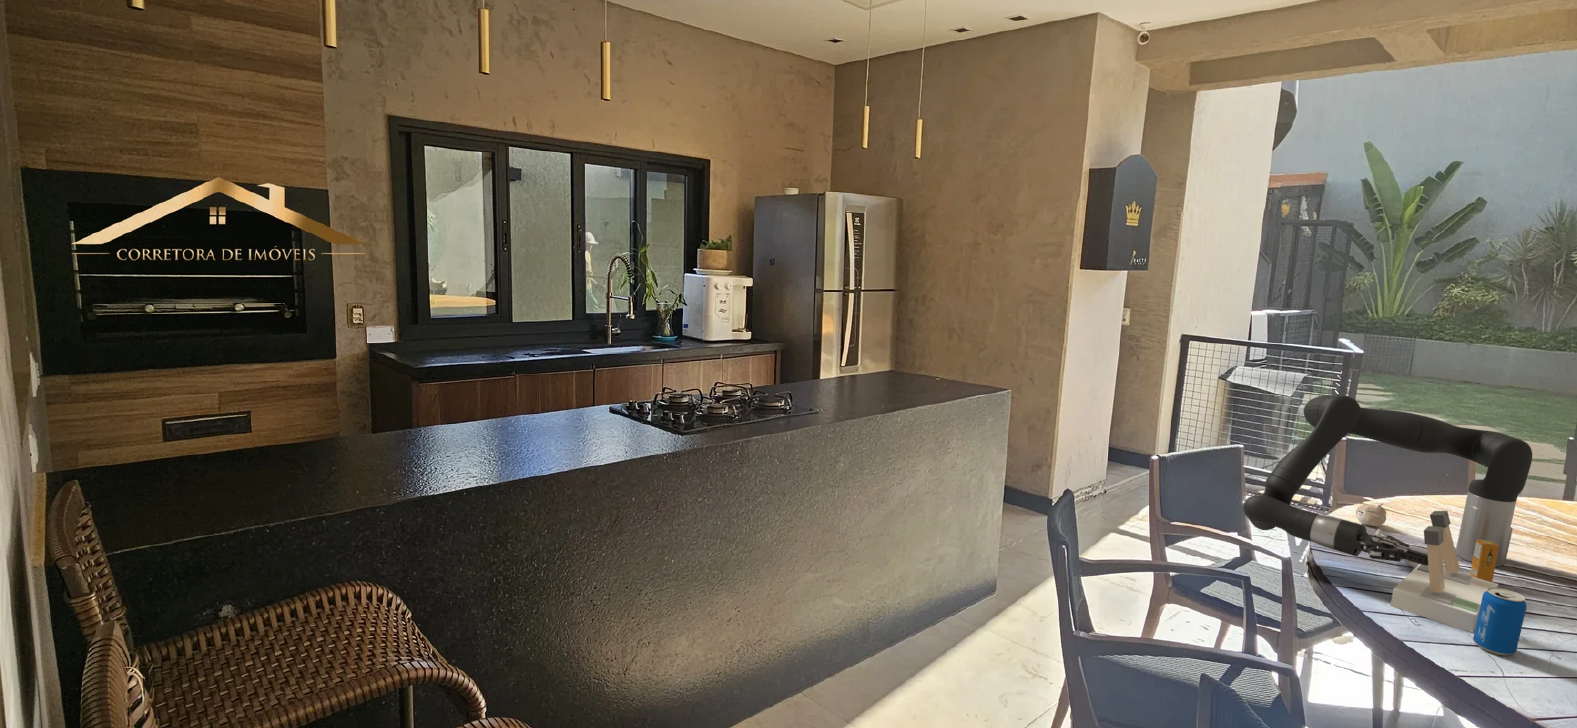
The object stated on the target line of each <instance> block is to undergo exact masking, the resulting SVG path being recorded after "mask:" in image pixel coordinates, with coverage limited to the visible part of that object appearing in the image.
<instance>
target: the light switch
mask: <svg viewBox="0 0 1577 728" xmlns="http://www.w3.org/2000/svg"><path fill="white" fill-rule="evenodd" d="M1374 535H1380V536H1383V537H1384V538H1386V536H1390V535H1389V534H1388V533H1386V532H1384V530H1382V529H1380V528H1378V529H1377V530H1376V531H1375V534H1374ZM1404 562H1405V563H1406V564H1408V565H1409V566H1411V567H1412V568H1413V569H1415V568H1416V567H1417V566H1418V565H1419V564H1418V563H1415V562H1411V561H1408V560H1406V561H1404Z"/></svg>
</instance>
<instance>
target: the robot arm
mask: <svg viewBox="0 0 1577 728" xmlns="http://www.w3.org/2000/svg"><path fill="white" fill-rule="evenodd" d="M1303 416H1304V419H1305V420H1306V421H1307V423H1308V424H1309V425H1310V426H1312V427H1313V428H1314V429H1312V430H1311V432H1310V433H1309V435H1308V436H1307V437H1306V438H1305V439H1303V441H1301V442H1300V443H1299V444H1297V446H1295V447H1294V448H1292V449H1291V450H1290V451H1288V452H1287V453H1286V454H1285V455H1284V456H1283V457H1282V458H1281V459H1280V460H1279V461H1278V462H1277V464H1275V467H1274V468H1273V470H1272V471H1271V473H1270V474H1269V475H1268V476H1267V478H1266V480H1265V482H1264V491H1263V492H1262V495H1261V494H1255V495H1252V496H1249V497H1247V499H1245V500H1244V502H1243V506H1242V509H1243V512H1244V514H1245V516H1246V517H1247V519H1248V520H1249V522H1250V524H1251V525H1253V526H1254V527H1255V528H1257V529H1259V530H1261V531H1270V530H1273V529H1275V528H1277V529H1280V530H1283V531H1284V532H1285V533H1286V534H1289V535H1290V536H1292V537H1295V538H1297V539H1302V540H1304V541H1307V542H1311V543H1314V544H1316V545H1319V546H1321V547H1323V548H1327V549H1331V550H1334V551H1336V552H1337V551H1338V552H1340V553H1343V554H1347V555H1350V556H1353V557H1357V556H1359V555H1360V554H1361V553H1362V552H1363V553H1367V554H1368V555H1369V558H1371V559H1373V560H1382V561H1390V562H1397V563H1398V562H1399V563H1400V562H1401V561H1403V562H1405V561H1406V560H1408V561H1411V562H1415V563H1418V564H1422V565H1425V566H1427V565H1428V553H1425V552H1421V551H1417V550H1414V549H1411V547H1410V545H1409V544H1407V543H1406V542H1404V541H1402V540H1400V539H1398V538H1396V537H1394V536H1392V535H1389V536H1386V538H1384V537H1383V536H1380V535H1375V534H1369V533H1368V532H1367V527H1366V525H1364V524H1362V523H1357V522H1354V521H1351V520H1346V519H1344V518H1343V519H1342V518H1339V517H1335V516H1332V515H1325V514H1321V513H1316V512H1313V511H1310V510H1307V509H1301V508H1298V507H1296V506H1293V505H1291V503H1292V500H1293V498H1294V497H1295V495H1296V494H1297V493H1298V491H1299V490H1301V489H1300V488H1301V487H1302V486H1303V484H1304V483H1305V482H1306V480H1307V478H1308V477H1309V476H1310V475H1311V473H1312V472H1313V471H1314V470H1315V468H1317V466H1318V465H1319V464H1320V462H1322V460H1323V459H1324V458H1325V457H1326V456H1327V455H1328V454H1329V453H1330V452H1331V451H1332V450H1333V449H1334V448H1335V447H1336V445H1338V444H1339V442H1341V440H1342V439H1343V438H1344V437H1346V436H1347V435H1348V434H1350V435H1355V436H1360V437H1363V438H1367V439H1369V440H1372V441H1376V442H1379V443H1382V444H1386V445H1390V446H1394V447H1397V448H1400V449H1404V450H1409V451H1413V452H1418V453H1426V454H1442V453H1443V454H1449V455H1453V456H1455V457H1460V458H1463V459H1466V460H1469V461H1471V462H1474V463H1476V464H1478V465H1481V466H1484V467H1486V468H1487V470H1486V474H1485V476H1484V478H1483V479H1479V478H1478V479H1474V480H1471V481H1470V482H1469V485H1468V486H1469V487H1468V490H1467V493H1466V494H1467V496H1466V500H1465V505H1464V507H1463V508H1464V510H1463V513H1462V518H1461V523H1460V528H1459V533H1458V538H1457V542H1456V548H1455V551H1456V555H1457V557H1459V558H1461V559H1463V560H1466V561H1469V562H1471V563H1472V561H1473V555H1474V550H1475V544H1476V540H1477V539H1478V540H1487V541H1492V542H1494V543H1496V544H1497V545H1499V549H1498V554H1497V560H1496V565H1495V567H1501V566H1502V565H1503V564H1505V563H1506V562H1507V557H1508V552H1509V547H1510V543H1511V539H1512V535H1513V527H1512V522H1513V519H1514V513H1515V509H1516V505H1517V500H1518V498H1519V497H1518V496H1519V495H1520V493H1522V492H1523V490H1524V488H1525V485H1526V482H1527V479H1528V476H1529V473H1530V469H1531V465H1532V462H1533V461H1532V460H1533V450H1532V448H1531V445H1529V443H1528V442H1526V441H1525V440H1522V439H1520V438H1517V437H1514V436H1512V435H1509V434H1505V433H1502V432H1498V431H1492V430H1485V429H1474V428H1468V427H1462V426H1456V425H1453V424H1451V423H1448V422H1445V421H1443V420H1440V419H1437V418H1433V417H1429V416H1427V415H1426V416H1425V415H1422V414H1421V415H1420V414H1417V413H1413V412H1406V411H1401V410H1391V409H1381V408H1380V409H1378V408H1367V407H1361V406H1360V404H1359V402H1358V401H1357V400H1356V399H1355V398H1353V397H1351V396H1348V395H1344V394H1343V395H1342V394H1333V395H1332V394H1331V395H1330V394H1329V395H1325V394H1324V395H1319V396H1316V397H1313V398H1311V399H1310V400H1309V401H1307V402H1306V404H1305V405H1304V408H1303Z"/></svg>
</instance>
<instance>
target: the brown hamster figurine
mask: <svg viewBox="0 0 1577 728" xmlns="http://www.w3.org/2000/svg"><path fill="white" fill-rule="evenodd" d="M1383 505H1384V502H1380V503H1378V504H1368V503H1366V504H1361V505H1359V506H1358V507H1357V508H1356V510H1355V515H1356V517H1357V520H1358V522H1360V524H1362V525H1364V526H1368V527H1373V528H1374V527H1375V528H1376V527H1380V526H1382V525H1384V524H1385V523H1386V521H1387V511H1386V509H1385V508H1384V507H1383Z"/></svg>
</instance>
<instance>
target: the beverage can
mask: <svg viewBox="0 0 1577 728" xmlns="http://www.w3.org/2000/svg"><path fill="white" fill-rule="evenodd" d="M1527 607H1528V605H1527V603H1526V598H1525V597H1524V596H1523V595H1521V594H1520V593H1518V592H1515V591H1513V590H1510V589H1506V588H1501V587H1498V588H1496V587H1490V588H1487V591H1486V592H1484V593H1483V596H1482V601H1481V605H1480V610H1479V614H1478V619H1477V623H1476V628H1475V629H1474V634H1473V636H1472V637H1473V638H1472V641H1473V642H1474V643H1475V644H1476V645H1477V647H1478V648H1480V649H1482V650H1484V651H1485V652H1488V653H1491V654H1494V655H1496V656H1497V655H1498V656H1506V657H1507V656H1510V655H1515V654H1516V653H1517V651H1518V647H1519V646H1518V645H1519V641H1520V637H1521V633H1522V628H1523V624H1524V620H1525V616H1526V611H1527Z"/></svg>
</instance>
